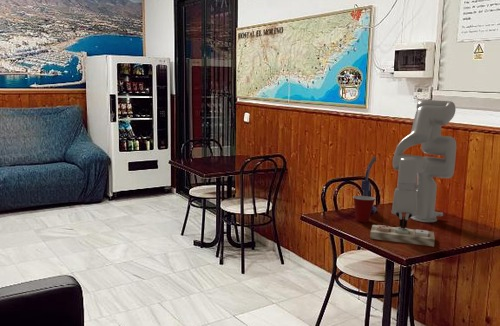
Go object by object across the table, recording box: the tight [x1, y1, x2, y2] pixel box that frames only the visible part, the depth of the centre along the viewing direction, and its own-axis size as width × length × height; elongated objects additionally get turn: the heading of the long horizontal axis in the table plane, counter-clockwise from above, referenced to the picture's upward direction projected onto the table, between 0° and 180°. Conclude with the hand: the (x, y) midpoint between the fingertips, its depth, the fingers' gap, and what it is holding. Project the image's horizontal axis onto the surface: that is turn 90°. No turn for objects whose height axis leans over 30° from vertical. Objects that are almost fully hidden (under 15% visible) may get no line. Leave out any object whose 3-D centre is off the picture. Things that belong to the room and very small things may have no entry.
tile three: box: [377, 224, 391, 232], centre depth 221 cm, size 5×5×4 cm
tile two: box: [396, 226, 410, 234], centre depth 219 cm, size 5×5×4 cm
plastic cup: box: [352, 195, 376, 223], centre depth 245 cm, size 11×11×12 cm
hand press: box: [360, 156, 378, 214], centre depth 264 cm, size 19×9×28 cm, turn 154°
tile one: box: [415, 229, 429, 237], centre depth 217 cm, size 5×5×4 cm
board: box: [369, 224, 436, 247], centre depth 219 cm, size 26×12×3 cm, turn 72°
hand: (402, 227), depth 219 cm, fingers closed
